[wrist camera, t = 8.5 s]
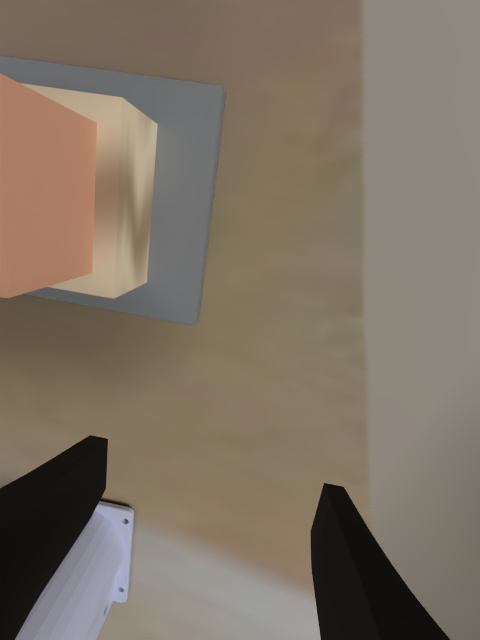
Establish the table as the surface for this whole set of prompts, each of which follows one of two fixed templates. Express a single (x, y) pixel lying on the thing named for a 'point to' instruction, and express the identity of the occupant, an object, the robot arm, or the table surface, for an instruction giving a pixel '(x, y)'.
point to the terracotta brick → (44, 191)
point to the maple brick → (115, 191)
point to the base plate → (155, 181)
